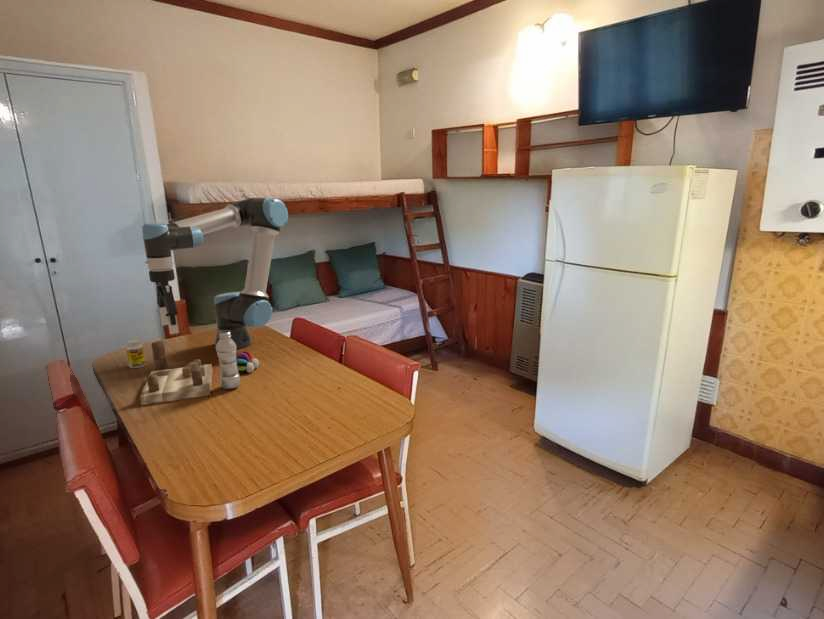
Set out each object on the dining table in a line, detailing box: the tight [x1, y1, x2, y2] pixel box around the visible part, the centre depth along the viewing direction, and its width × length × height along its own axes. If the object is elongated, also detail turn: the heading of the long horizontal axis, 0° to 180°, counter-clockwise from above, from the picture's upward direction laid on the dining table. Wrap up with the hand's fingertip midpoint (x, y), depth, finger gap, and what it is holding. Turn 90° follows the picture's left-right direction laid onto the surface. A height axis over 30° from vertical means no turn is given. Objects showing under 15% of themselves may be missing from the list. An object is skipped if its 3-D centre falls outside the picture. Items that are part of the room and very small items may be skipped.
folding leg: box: [181, 358, 202, 377], centre depth 163 cm, size 9×3×3 cm, turn 178°
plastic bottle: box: [215, 330, 241, 390], centre depth 155 cm, size 6×7×20 cm
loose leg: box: [151, 340, 169, 371], centre depth 172 cm, size 4×4×11 cm
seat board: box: [139, 363, 213, 406], centre depth 158 cm, size 20×22×8 cm
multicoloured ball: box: [236, 350, 260, 374], centre depth 172 cm, size 8×10×7 cm
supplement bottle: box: [125, 339, 146, 369], centre depth 177 cm, size 6×6×10 cm
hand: (170, 329), depth 161 cm, fingers open, 13 cm apart
